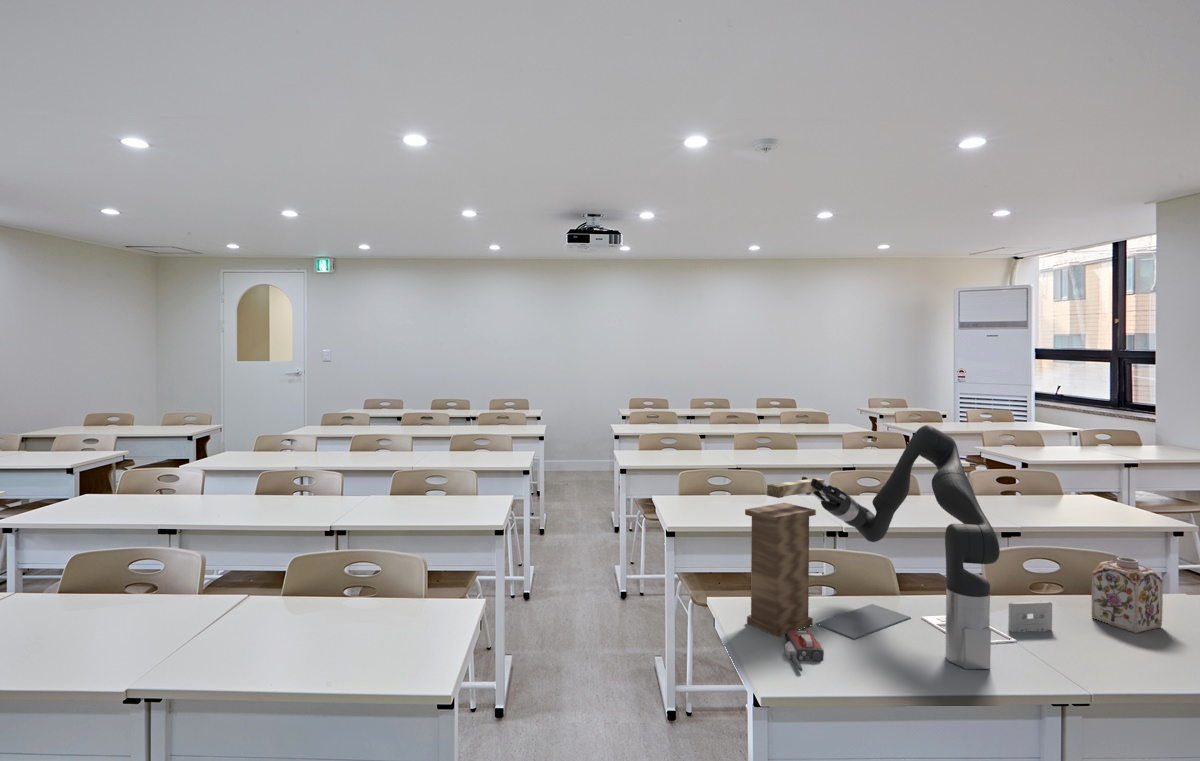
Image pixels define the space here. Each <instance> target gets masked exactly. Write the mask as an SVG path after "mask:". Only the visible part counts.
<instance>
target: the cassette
mask: <svg viewBox="0 0 1200 761" xmlns="http://www.w3.org/2000/svg"><path fill="white" fill-rule="evenodd" d="M1028 615H1032V616H1028ZM1007 626H1008V628H1007V630H1008V631H1009V632H1010V633H1011V632H1012V633H1015V631H1017V633H1029V632H1028V631H1038V632H1047V631H1046V630H1051V631H1052V630H1053V603H1052V602H1051V601H1029V602H1028V601H1027V602H1022V601H1021V602H1009V603H1008V624H1007ZM1013 631H1014V632H1013ZM1026 631H1027V632H1026Z"/></svg>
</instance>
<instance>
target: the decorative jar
mask: <svg viewBox="0 0 1200 761" xmlns="http://www.w3.org/2000/svg"><path fill="white" fill-rule="evenodd" d="M1091 576H1092V577H1091V619H1092V618H1094V619H1093V620H1095V619H1097V620H1096V621H1098V620H1099V622H1101V621H1102V623H1104V622H1105V623H1104V624H1107V623H1108V624H1107V625H1110V626H1114V627H1116V628H1119V629H1121V630H1125V631H1127V632H1131V633H1134V634H1138V633H1142V632H1143V633H1144V632H1147V631H1151V630H1155V629H1160V628H1161V627H1162V625H1163V603H1164V601H1163V600H1164V598H1163V579H1162V578H1161V576H1159V574H1158V573H1157V572H1155V571H1154V570H1153V569H1152V568H1150V567H1148V566H1144V565H1140V564H1139V560H1137V559H1136V558H1133V557H1132V558H1131V557H1125V556H1124V557H1123V556H1122V557H1117V558H1116V560H1107V561H1106V560H1105V561H1101V562H1099V564H1098V566H1097V567H1095V569H1094V570H1093V571H1092V575H1091Z"/></svg>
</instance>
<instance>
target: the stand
mask: <svg viewBox="0 0 1200 761" xmlns="http://www.w3.org/2000/svg"><path fill="white" fill-rule="evenodd" d="M744 510H745V511H744V515H745V516H749V517H751V542H750V543H751V544H750V545H751V551H750V552H751V557H750V558H751V559H750V560H751V562H750V563H751V570H750V573H751V574H750V576H751V577H750V578H751V581H750V583H751V584H750V587H751V589H750V590H751V591H750V594H751V595H750V596H751V597H750V615H747V616H746V623H747V624H748V625H750V626H751V627H754V628H757V629H759V630H761V631H763V632H766V633H768V634H770V635H772V636H775V637H776V638H778V637H779V638H780V637H781V636H785V634H786V633H787V632H788V631H789V630H799V629H800V630H802V629H801V628H803V629H805V628H804V627H806V628H808V627H807V626H809V627H811V626H810V625H812V626H813V624H814V623H813V617H811V616H809V605H810V604H809V601H810V600H809V593H810V590H809V588H810V587H809V585H810V583H809V582H810V581H809V579H810V578H809V577H810V576H809V575H810V574H809V573H810V572H809V571H810V564H809V563H810V517H812V516H813V517H814V516H816V515H817V514H816V513H817V510H816V509H814V508H810V507H807V506H806V507H805V506H801V505H795V504H792V503H788V502H787V503H786V502H780V503H774V504H770V505H769V504H768V505H763V506H758V507H751V508H747V509H744Z"/></svg>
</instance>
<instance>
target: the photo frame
mask: <svg viewBox="0 0 1200 761" xmlns="http://www.w3.org/2000/svg"><path fill="white" fill-rule="evenodd" d="M920 619H921V620H923V621H924V622H926V623H928V624H929V625H931V626H933V627H934V628H936V629H938V630H940V631H941V632H943V633H944V634H946V628H943V627H941V626H946V614H945V615H933V616H932V615H931V616H929V615H927V616H920ZM989 629H990V630H991V631H993V632H994V633H996V634H999V635H1000V636H1002V637H1004V638H1005V637H1006V638H1005V639H998V640H996V639H995V640H991V645H994V644H995V645H996V643H998V644H1007V643H1006V642H1014V643H1017V639H1015V638H1013V637H1011V636H1010V635H1008V634H1006V633H1004V632H1002V631H1000V630H999V629H997V628H995V627H993V626H991V625H989ZM1007 638H1008V639H1007ZM1009 639H1010V640H1009Z"/></svg>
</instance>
